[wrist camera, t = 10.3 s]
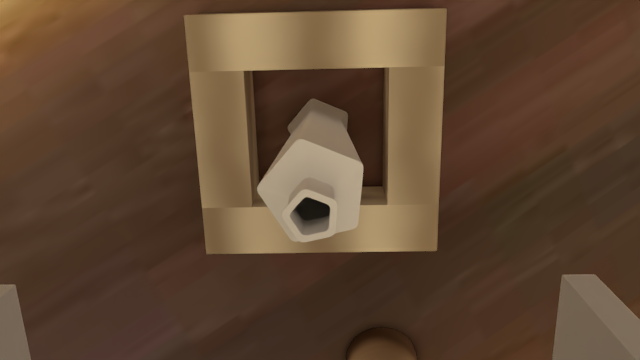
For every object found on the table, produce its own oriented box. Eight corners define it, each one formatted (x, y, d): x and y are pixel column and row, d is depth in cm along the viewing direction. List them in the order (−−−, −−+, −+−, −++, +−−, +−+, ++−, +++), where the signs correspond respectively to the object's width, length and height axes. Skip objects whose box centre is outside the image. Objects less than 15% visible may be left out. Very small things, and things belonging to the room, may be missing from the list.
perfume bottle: (346, 84, 34) (356, 142, 20) (362, 151, 36) (382, 251, 21) (274, 101, 35) (234, 171, 21) (292, 167, 36) (266, 276, 22)
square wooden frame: (217, 231, 38) (206, 254, 34) (198, 14, 33) (183, 15, 30) (427, 228, 37) (436, 250, 34) (435, 7, 33) (446, 8, 30)
